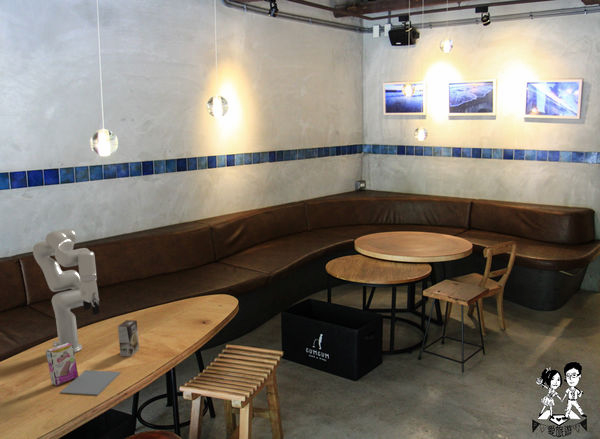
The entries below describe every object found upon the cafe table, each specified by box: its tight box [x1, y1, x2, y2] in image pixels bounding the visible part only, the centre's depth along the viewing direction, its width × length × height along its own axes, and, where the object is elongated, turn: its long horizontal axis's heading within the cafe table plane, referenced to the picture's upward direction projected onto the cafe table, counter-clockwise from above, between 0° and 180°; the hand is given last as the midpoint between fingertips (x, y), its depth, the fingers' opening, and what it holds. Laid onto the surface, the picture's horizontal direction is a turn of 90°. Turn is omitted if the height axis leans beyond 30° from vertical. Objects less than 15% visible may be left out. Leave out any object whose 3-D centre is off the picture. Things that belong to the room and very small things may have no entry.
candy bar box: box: [45, 343, 79, 386], centre depth 274 cm, size 11×5×16 cm, turn 140°
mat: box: [59, 369, 121, 396], centre depth 273 cm, size 18×22×1 cm
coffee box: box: [117, 319, 140, 357], centre depth 304 cm, size 9×6×16 cm
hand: (91, 311), depth 285 cm, fingers open, 9 cm apart
